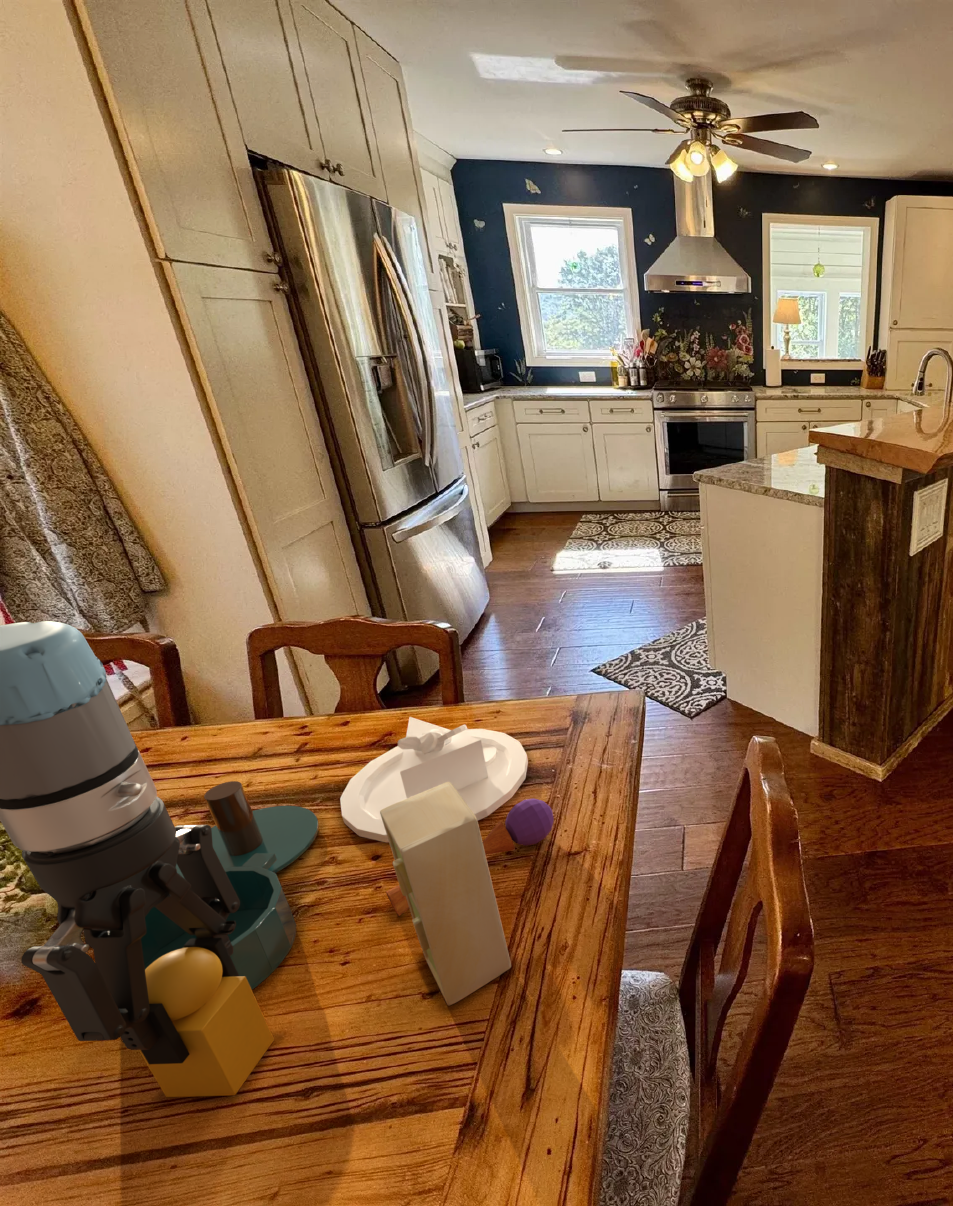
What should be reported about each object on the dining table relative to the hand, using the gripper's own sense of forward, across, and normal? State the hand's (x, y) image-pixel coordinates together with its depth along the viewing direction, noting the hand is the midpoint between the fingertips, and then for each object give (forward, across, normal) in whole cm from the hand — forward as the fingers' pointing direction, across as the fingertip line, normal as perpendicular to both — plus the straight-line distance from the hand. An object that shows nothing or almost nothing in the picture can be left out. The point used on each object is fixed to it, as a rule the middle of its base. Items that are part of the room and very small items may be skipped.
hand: (199, 1022), depth 57 cm
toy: (+6, 0, 0) cm, 6 cm away
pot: (+6, +11, +9) cm, 16 cm away
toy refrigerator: (+7, +10, -18) cm, 21 cm away
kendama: (+7, +24, -14) cm, 28 cm away
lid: (+6, +27, +17) cm, 32 cm away
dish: (+6, +41, -1) cm, 42 cm away
